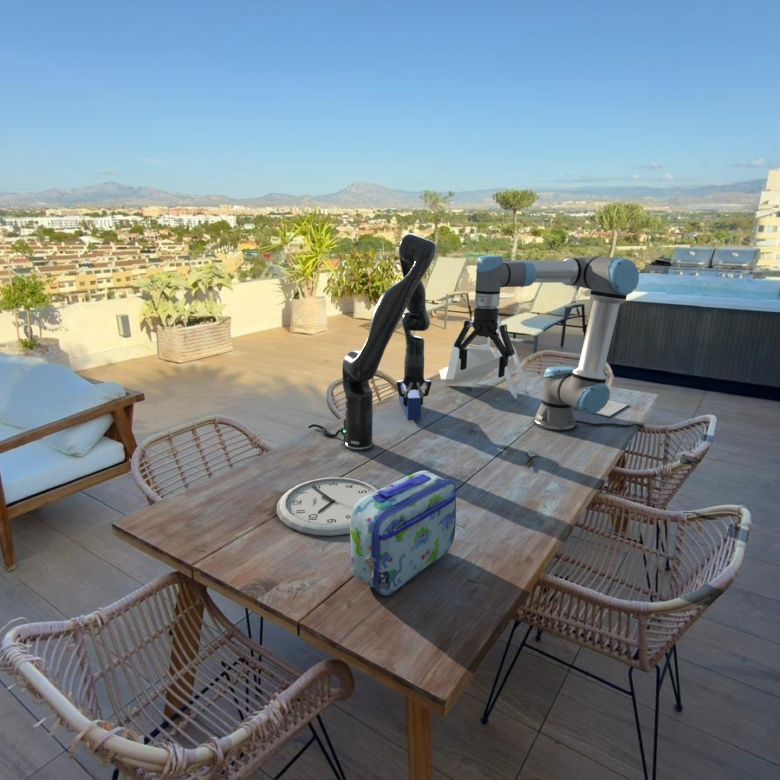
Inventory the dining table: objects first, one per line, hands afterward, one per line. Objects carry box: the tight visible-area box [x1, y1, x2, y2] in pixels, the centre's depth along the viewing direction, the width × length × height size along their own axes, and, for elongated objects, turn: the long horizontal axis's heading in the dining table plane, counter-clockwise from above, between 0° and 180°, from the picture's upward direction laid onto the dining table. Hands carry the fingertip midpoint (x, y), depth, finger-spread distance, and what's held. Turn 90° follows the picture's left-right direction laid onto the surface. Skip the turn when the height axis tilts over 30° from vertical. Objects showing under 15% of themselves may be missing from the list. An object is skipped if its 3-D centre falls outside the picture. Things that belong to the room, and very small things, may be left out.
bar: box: [398, 379, 422, 421], centre depth 213 cm, size 25×5×9 cm, turn 7°
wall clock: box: [276, 476, 380, 537], centre depth 142 cm, size 30×2×30 cm
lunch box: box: [349, 470, 457, 597], centre depth 114 cm, size 26×11×21 cm, turn 134°
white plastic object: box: [438, 315, 531, 400], centre depth 245 cm, size 37×45×31 cm
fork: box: [527, 445, 537, 469], centre depth 172 cm, size 3×16×2 cm, turn 160°
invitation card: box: [595, 399, 629, 418], centre depth 226 cm, size 21×1×15 cm
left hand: (413, 405), depth 205 cm, fingers closed on bar, 5 cm apart
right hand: (481, 372), depth 169 cm, fingers open, 13 cm apart
